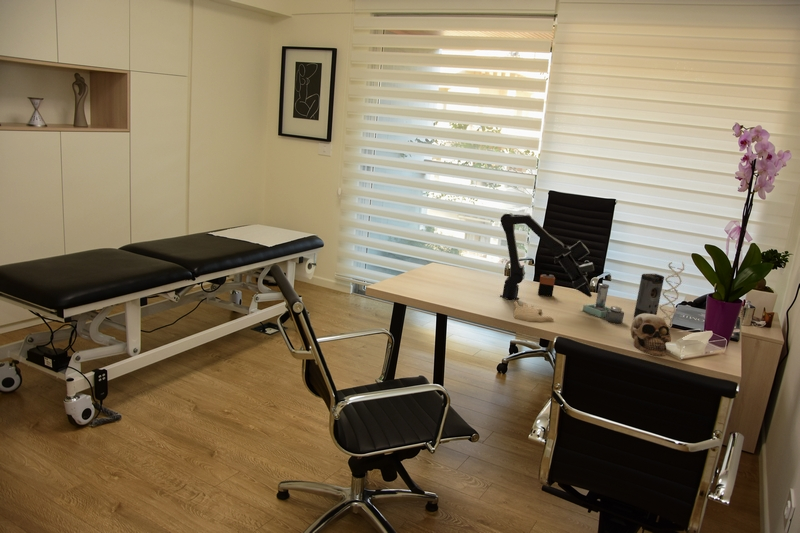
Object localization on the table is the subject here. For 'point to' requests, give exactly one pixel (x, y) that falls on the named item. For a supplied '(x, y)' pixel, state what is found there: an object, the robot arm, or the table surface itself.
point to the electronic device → (649, 294)
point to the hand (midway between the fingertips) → (590, 294)
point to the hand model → (529, 313)
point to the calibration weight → (614, 315)
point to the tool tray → (594, 310)
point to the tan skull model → (650, 334)
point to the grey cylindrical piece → (601, 297)
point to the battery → (546, 285)
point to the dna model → (671, 289)
